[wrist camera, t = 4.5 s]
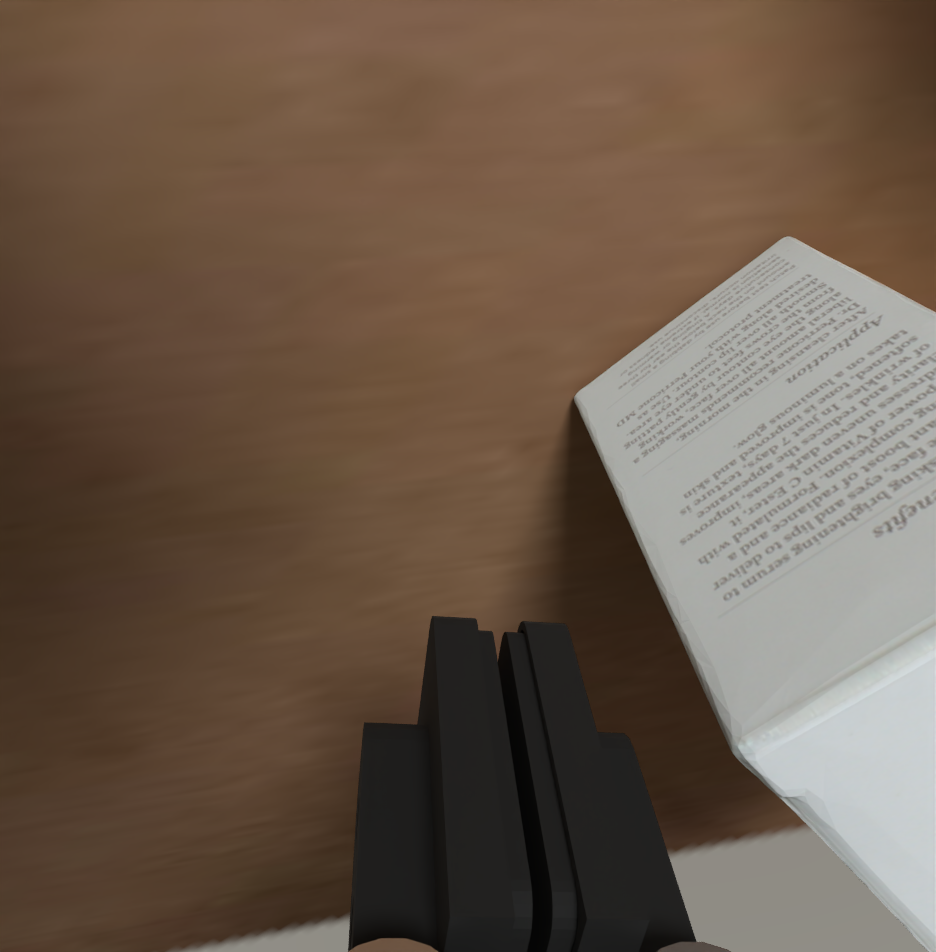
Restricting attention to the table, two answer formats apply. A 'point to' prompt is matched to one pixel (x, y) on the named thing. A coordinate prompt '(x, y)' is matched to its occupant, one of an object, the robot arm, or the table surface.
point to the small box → (799, 542)
